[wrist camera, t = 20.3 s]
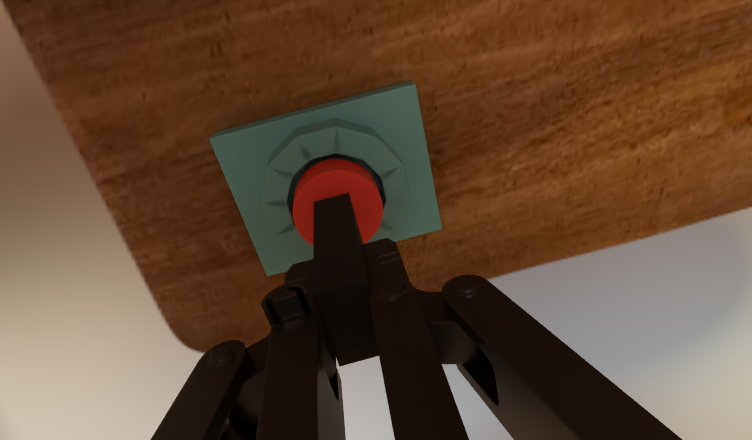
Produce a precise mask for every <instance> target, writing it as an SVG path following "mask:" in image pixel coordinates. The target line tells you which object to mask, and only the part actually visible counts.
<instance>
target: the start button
mask: <svg viewBox="0 0 752 440" xmlns="http://www.w3.org/2000/svg"><path fill="white" fill-rule="evenodd" d="M348 192H349V195H350V198H351V202H352V205H353V209H354V212H355V216H356V219H357V223H358V226H359V230H360V233H361V237H362V240H363V244H365V243H366V242H367V241H369V240H370V239H371V238H372V237H373V236H374V234H375V233H376V232H377V230H378V228H379V226H380V224H381V221H382V217H383V204H382V199H381V196H380V194H379V191H378V188H377V185H376V183H375V181H374V179H373V177H372V176H371V174H370V173H369V172H368V171H367V170H366V169H365V168H364V167H362V166H361V165H359V164H357V163H355V162H353V161H350V160H346V159H328V160H324V161H321V162H318V163H316V164H314V165H313V166H311V167H310V168H309V169H308V170H306V171H305V172H304V174H303V175H302V176H301V178H300V179H299V181H298V183H297V185H296V189H295V194H294V202H293V220H294V223H295V226H296V228H297V230H298V232H299V233H300V235H301V236H302V237H303V238H304V239H305V240H306V241H307V242H308V243H310V244H311V245H313V224H314V202H315V201H318V200H322V199H326V198H330V197H333V196H337V195H341V194H345V193H348Z"/></svg>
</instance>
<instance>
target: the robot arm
mask: <svg viewBox="0 0 752 440" xmlns="http://www.w3.org/2000/svg"><path fill="white" fill-rule="evenodd" d="M261 305H262V308H263V310H264V312H265V314H266V316H267V319H268V321H269V323H270V325H271V332H270V334H269V335H268V336H267V337H265V338H264V339H262V340H260V341H258V342H257V343H255V344H253V345H251V346H249V347H247V348H246V347H245V345H244V343H242V342H241V341H239V340H229V341H225V342H222V343H220V344H218V345H215V346H213V347H212V348H211V349H210V350H208V351H207V352H206V353H205V354H204V355H203V356H202V358H201V359H200V360H199V362H198V363H197V365H196V366H195V368H194V370H193V371H192V373H191V375H190V376H189V378H188V380H187V381H186V383H185V384H184V386H183V388H182V389H181V391H180V393H179V394H178V396H177V397H176V399H175V401H174V402H173V404H172V406H171V407H170V409H169V411H168V412H167V414H166V416H165V417H164V419H163V420H162V422H161V424H160V425H159V427H158V429H157V430H156V432H155V434H154V435H153V437H152V438H151V440H346V439H345V425H344V412H343V399H342V387H341V378H340V376H339V373H338V370H337V368H336V358H337V360H338V363H339V366H343V365H347V364H350V363H354V362H357V361H361V360H365V359H368V358H372V357H375V356H379V357H380V362H381V367H382V372H383V378H384V384H385V389H386V394H387V400H388V405H389V410H390V415H391V420H392V426H393V432H394V437H395V440H469V438H468V436H467V433H466V430H465V427H464V425H463V422H462V419H461V416H460V414H459V411H458V408H457V405H456V403H455V400H454V397H453V394H452V392H451V389H450V386H449V383H448V381H447V378H446V375H445V372H444V370H443V367H442V364H456V365H457V367H458V369H459V371H460V372H461V373H462V374H463V376H464V377H465V378H466V380H467V381H468V382H469V383H470V385H471V386H472V387H473V388H474V390H475V391H476V392H477V393H478V395H479V396H480V397H481V399H482V400H483V401H484V402H485V403H486V405H487V406H488V407H489V409H490V410H491V411H492V412H493V414H494V415H495V416H496V417H497V419H498V420H499V421H500V422H501V423H502V425H503V426H504V427H505V429H506V430H507V431H508V432H509V434H510V435H511V436H512V438H513V439H514V440H682V439H681V438H680V437H678V436H677V435H676V434H675V433H673V432H672V431H671V430H670V429H669V428H667V427H666V426H665V425H664V424H663V423H661V422H660V421H659V420H658V419H656V418H655V417H654V416H653V415H651V414H650V413H649V412H648V411H647V410H645V409H644V408H643V407H642V406H640V405H639V404H638V403H637V402H636V401H634V400H633V399H632V398H631V397H629V396H628V395H627V394H626V393H624V392H623V391H622V390H621V389H620V388H618V387H617V386H616V385H615V384H614V383H612V382H611V381H610V380H609V379H607V378H606V377H605V376H604V375H602V374H601V373H600V372H599V371H598V370H596V369H595V368H594V367H593V366H592V365H590V364H589V363H588V362H587V361H585V360H584V359H583V358H582V357H580V356H579V355H578V354H577V353H576V352H574V351H573V350H572V349H571V348H570V347H568V346H567V345H566V344H565V343H563V342H562V341H561V340H560V339H558V338H557V337H556V336H555V335H554V334H552V333H551V332H550V331H549V330H547V329H546V328H545V327H544V326H543V325H541V324H540V323H539V322H538V321H537V320H535V319H534V318H533V317H532V316H530V315H529V314H528V313H527V312H525V311H524V310H523V309H522V308H521V307H519V306H518V305H517V304H516V303H515V302H513V301H512V300H511V299H510V298H508V297H507V296H506V295H505V294H503V293H502V292H501V291H500V290H499V289H497V288H496V287H495V286H494V285H493V284H491V283H490V282H489V281H488V280H486V279H484V278H482V277H480V276H476V275H461V276H458V277H455V278H452V279H451V280H449V281H448V282H446V284H445V285H444V286H443V288H442V292H426V291H421V290H419V289H416V288H415V287H414V286H412V285H411V283H410V281H409V278H408V276H407V273H406V270H405V267H404V265H403V262H402V259H401V256H400V253H399V251H398V248H397V245H396V243H395V242H394V241H392V240H391V239H389V238H384V239H380V240H377V241H373V242H369V243H366V244H363V240H362V237H361V233H360V230H359V226H358V223H357V219H356V216H355V212H354V209H353V205H352V202H351V198H350V195H349V192H348V193H345V194H341V195H337V196H333V197H330V198H326V199H322V200H318V201H315V202H314V224H313V259H310V260H307V261H303V262H299V263H296V264H292V265H291V267H290V268H289V270H288V271H287V272H286V274H285V285H282V286H280V287H277V288H276V289H274V290H272V291H271V292H269V293H268V294H267V295H266V296H265V297H264V299H263V301H262V303H261Z"/></svg>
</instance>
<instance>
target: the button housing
mask: <svg viewBox="0 0 752 440" xmlns="http://www.w3.org/2000/svg"><path fill="white" fill-rule="evenodd" d="M209 140H210V143H211V145H212V148H213V150H214V152H215V155H216V157H217V159H218V162H219V164H220V166H221V169H222V171H223V174H224V176H225V178H226V181H227V183H228V185H229V188H230V190H231V192H232V195H233V197H234V200H235V202H236V204H237V207H238V209H239V211H240V214H241V216H242V218H243V221H244V223H245V226H246V228H247V230H248V233H249V235H250V237H251V240H252V242H253V244H254V247H255V249H256V252H257V254H258V256H259V259H260V261H261V263H262V266H263V268H264V270H265V273H266V275H267V276H271V275H275V274H279V273H282V272H286V271H288V270H289V268H290V267H291V265H292V264H296V263H299V262H303V261H307V260H310V259H313V245H311V244H310V243H308V242H307V241H306V240H305V239H304V238H303V237H302V236H301V235H300V233H299V232H298V230H297V228H296V226H295V223H294V220H293V202H294V194H295V189H296V185H297V183H298V181H299V179H300V178H301V176H302V175H303V174H304V172H305V171H306V170H308V169H309V168H310V167H311V166H313V165H314V164H316V163H318V162H321V161H324V160H328V159H346V160H350V161H353V162H355V163H357V164H359V165H361V166H362V167H364V168H365V169H366V170H367V171H368V172H369V173H370V174H371V176H372V177H373V179H374V181H375V183H376V185H377V188H378V191H379V194H380V196H381V199H382V204H383V217H382V221H381V224H380V226H379V228H378V230H377V232H376V233H375V234H374V236H373V237H372V238H371V239H370V240H369V241H367V242H366V243H369V242H373V241H377V240H380V239H384V238H389V239H391V240H392V241H394V242H397V241H400V240H404V239H408V238H412V237H415V236H419V235H423V234H426V233H430V232H434V231H437V230H441V229H442V225H441V220H440V214H439V209H438V203H437V198H436V192H435V187H434V182H433V176H432V171H431V165H430V160H429V154H428V149H427V143H426V138H425V132H424V127H423V121H422V116H421V111H420V105H419V100H418V94H417V89H416V84H415V83H413V82H412V81H410V80H409V81H406V82H402V83H398V84H394V85H391V86H387V87H383V88H379V89H375V90H372V91H368V92H364V93H360V94H357V95H353V96H349V97H345V98H341V99H338V100H334V101H330V102H326V103H323V104H319V105H315V106H311V107H307V108H304V109H300V110H296V111H292V112H289V113H285V114H281V115H277V116H274V117H270V118H266V119H262V120H258V121H255V122H251V123H247V124H243V125H240V126H236V127H232V128H228V129H224V130H221V131H217V132H214V133H213V134H212V135H211V137H210V138H209ZM366 243H365V244H366Z"/></svg>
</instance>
